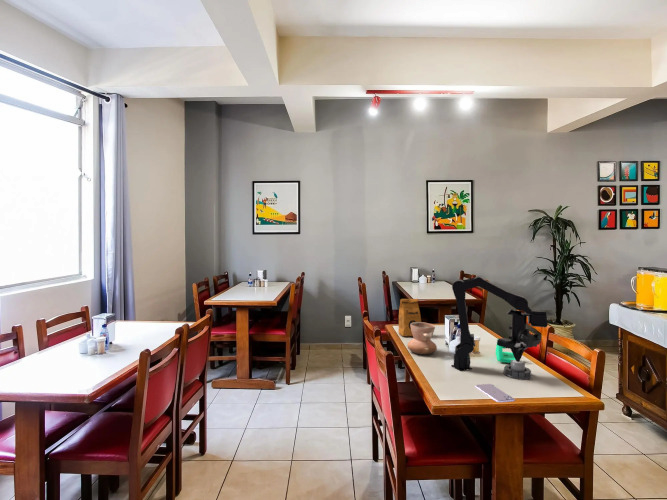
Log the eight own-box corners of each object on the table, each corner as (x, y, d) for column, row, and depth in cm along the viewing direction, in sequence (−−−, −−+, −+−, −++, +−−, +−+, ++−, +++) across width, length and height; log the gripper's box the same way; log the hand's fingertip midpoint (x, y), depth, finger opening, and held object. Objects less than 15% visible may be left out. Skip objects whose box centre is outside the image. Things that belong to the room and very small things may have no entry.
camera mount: (517, 365, 172) (517, 343, 172) (499, 364, 174) (499, 342, 174) (512, 357, 184) (512, 336, 184) (495, 356, 186) (495, 335, 186)
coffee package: (422, 337, 218) (423, 300, 217) (401, 337, 217) (402, 300, 216) (416, 333, 228) (417, 297, 227) (397, 333, 226) (397, 297, 226)
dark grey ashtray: (518, 381, 153) (518, 374, 153) (497, 372, 163) (497, 366, 163) (537, 377, 157) (538, 371, 157) (516, 368, 167) (516, 363, 167)
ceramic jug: (440, 357, 182) (441, 328, 181) (411, 357, 182) (412, 328, 181) (430, 347, 200) (431, 321, 199) (403, 346, 200) (404, 320, 199)
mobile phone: (491, 383, 149) (516, 399, 135) (491, 385, 149) (516, 401, 135) (473, 384, 148) (497, 400, 133) (473, 386, 148) (497, 403, 133)
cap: (518, 376, 157) (518, 364, 157) (507, 372, 162) (508, 360, 162) (527, 374, 159) (527, 362, 159) (516, 370, 164) (517, 358, 164)
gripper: (518, 331, 149) (517, 370, 149) (551, 327, 156) (550, 365, 156) (496, 325, 159) (495, 361, 159) (528, 322, 166) (527, 356, 166)
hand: (517, 361), depth 160 cm, fingers closed
